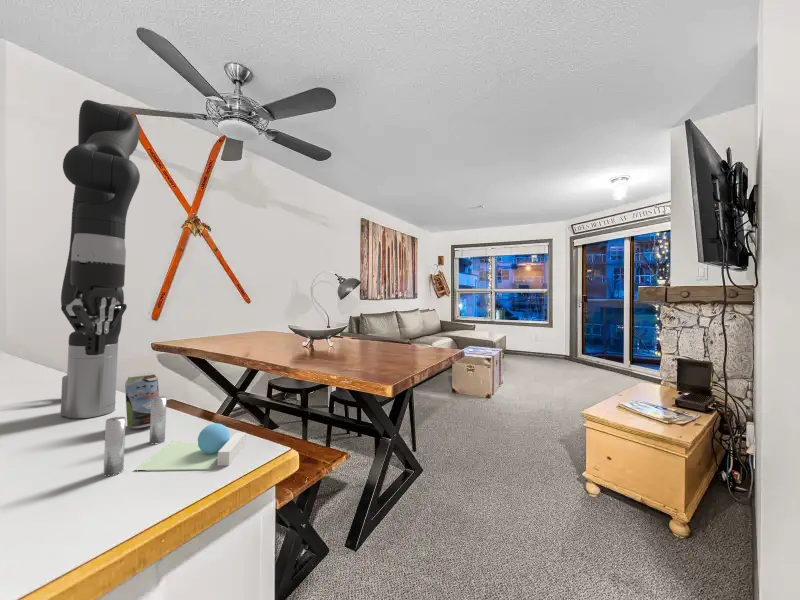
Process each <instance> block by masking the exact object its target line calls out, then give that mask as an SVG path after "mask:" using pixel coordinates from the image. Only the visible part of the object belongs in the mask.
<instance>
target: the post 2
mask: <svg viewBox="0 0 800 600" xmlns="http://www.w3.org/2000/svg"><path fill="white" fill-rule="evenodd" d="M167 398H168V397H167V396H163V395H162V396H161V395H159V397H154V398H152V399H151V418H150V426H149V442H150V443H154V444H153V445H156V444H155V443H159V444H162V443H164V442H165V441H166V424H167V423H166V422H167V420H166V419H167V418H166V417H167V400H168V399H167ZM163 441H164V442H163ZM161 442H162V443H161ZM150 443H149V444H150Z"/></svg>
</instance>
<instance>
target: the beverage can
mask: <svg viewBox="0 0 800 600" xmlns="http://www.w3.org/2000/svg"><path fill="white" fill-rule="evenodd" d="M158 378H159V377H157V376H156V374H155V373H154V372H149V373H142V374H135V375H130V376H128V377H127V379H126V381H125V383H124V388H125V389H124V391H125V407H126V409H125V410H126V426H127V427H130V428H131V429H142V428H146V427H150V418H151V399H152V398H154V397H159V396H160V393H159V392H160V391H159V379H158Z"/></svg>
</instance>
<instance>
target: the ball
mask: <svg viewBox="0 0 800 600" xmlns="http://www.w3.org/2000/svg"><path fill="white" fill-rule="evenodd" d="M230 438H231V437H230V431H229V429H228V428H227V427H226V426H225V425H223V424H222V423H211V424H209V425H207V426H205V427H204V428H202V430H201V431H200V432H199V434H198V436H197V441H198V446H199V448H200V450H201V451H203V452H204V453H208V454H214V453H217V452H218V451H219V450H220V449H221V448H222V447H223V446H224V445H225V444H226V443H227V442H228V441H229V439H230Z"/></svg>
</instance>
